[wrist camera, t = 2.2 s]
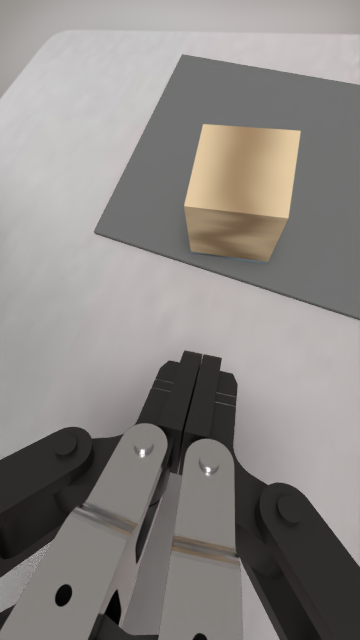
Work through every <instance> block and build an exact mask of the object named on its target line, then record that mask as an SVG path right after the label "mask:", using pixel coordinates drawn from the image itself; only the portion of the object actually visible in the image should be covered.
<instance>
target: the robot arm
mask: <svg viewBox="0 0 360 640" xmlns="http://www.w3.org/2000/svg"><path fill="white" fill-rule="evenodd" d="M221 359H222V358H219V357H215V356H210V355H205V354H204V355H203V359H202V354H199V353H194V352H190V351H184V353H183V355H182V358H181V361H180V363H179V362H174V361H168V362H167V363H166V364H164V365H163V366H162V367H161V368H160V370H159V372H158V374H157V377H156V380H155V381H154V384H153V386H152V389H151V390H150V393H149V395H148V397H147V400H146V402H145V404H144V407H143V409H142V411H141V413H140V416H139V418H138V420H137V422H136V424H135V425H134V426H133V427H131V428H130V429H128V430H127V431H126V432H125V433H124V434H122V435H120V436H116V437H110V438H95V439H91V436H90V435H89V433H88V432H87V431H86V430H84V429H82V428H79V427H68V428H64V429H61V430H59V431H57V432H55V433H53V434H51V435H49V436H47V437H45V438H43V439H41V440H39V441H37V442H35V443H33V444H31V445H29V446H27V447H25V448H23V449H21V450H19V451H17V452H15V453H13V454H11V455H9V456H7V457H5V458H3V459H1V460H0V577H2V576H3V575H5V574H6V573H7V572H9V571H10V570H12V569H13V568H14V567H16V566H17V565H19V564H20V563H21V562H23V561H24V560H25V559H27V558H28V557H30V556H31V555H32V554H34V553H35V552H37V551H38V550H39V549H41V548H42V547H44V546H45V545H46V544H48V543H49V542H51V541H52V540H53V539H54V540H53V542H52V544H51V545H50V547H49V549H48V550H47V552H46V554H45V556H44V557H43V559H42V561H41V562H40V564H39V566H38V567H37V569H36V571H35V573H34V574H33V576H32V578H31V579H30V581H29V583H28V585H27V586H26V588H25V590H24V591H23V593H22V595H21V596H20V598H19V600H18V602H17V603H16V604H15V605H13V606H12V607H10V608H8V609H6V610H4V611H3V612H1V613H0V640H243V627H242V588H241V569H240V561H239V558H240V559H241V562H242V564H243V566H244V568H245V570H246V572H247V574H248V576H249V578H250V580H251V582H252V585H253V587H254V589H255V591H256V593H257V595H258V597H259V599H260V601H261V603H262V605H263V607H264V609H265V611H266V613H267V615H268V617H269V619H270V621H271V623H272V625H273V627H274V629H275V631H276V633H277V635H278V637H279V639H280V640H360V567H359V566H358V564H357V563H356V562H355V560H354V559H353V558H352V556H351V555H350V554H349V552H348V551H347V550H346V549H345V547H344V546H343V545H342V543H341V542H340V541H339V539H338V538H337V537H336V535H335V534H334V533H333V531H332V530H331V529H330V528H329V526H328V525H327V524H326V522H325V521H324V520H323V518H322V517H321V516H320V514H319V513H318V512H317V511H316V509H315V508H314V507H313V505H312V504H311V503H310V501H309V500H308V499H307V498H306V497H305V495H304V494H302V493H301V492H300V491H299V490H298V489H296V488H295V487H293V486H291V485H288V484H285V483H273V484H270V485H267V484H265V483H264V482H262V481H260V480H259V479H257V478H256V477H254V476H252V475H251V474H250V473H248V472H247V471H246V470H245V469H244V468H243V467H242V466H241V465H240V463H239V462H238V460H237V458H236V456H235V453H234V449H233V439H234V426H235V412H236V399H237V398H236V397H237V382H236V380H235V378H234V375H233V374H231V373H227V372H222V371H220V365H221ZM201 361H202V363H201ZM180 459H181V461H180ZM179 463H180V469H179V474H180V475H182V482H181V488H180V495H179V502H178V509H177V516H176V522H175V529H174V536H173V543H172V549H171V556H170V563H169V570H168V576H167V583H166V590H165V597H164V604H163V610H162V617H161V624H160V631H159V635H130V634H127V633H126V632H125V631H123V630H122V629H121V627H122V624H123V622H124V619H125V616H126V613H127V610H128V607H129V604H130V600H131V597H132V594H133V591H134V587H135V583H136V579H137V575H138V571H139V567H140V564H141V560H142V557H143V555H144V552H145V549H146V546H147V543H148V540H149V537H150V534H151V531H152V528H153V525H154V522H155V519H156V516H157V513H158V511H159V508H160V505H161V502H162V499H163V495H164V492H165V490H166V486H167V482H168V479H169V475H170V472H172V473H176V474H177V471H178V467H179Z"/></svg>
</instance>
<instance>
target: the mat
mask: <svg viewBox="0 0 360 640" xmlns="http://www.w3.org/2000/svg"><path fill="white" fill-rule="evenodd" d="M203 124H209V125H224V126H238V127H253V128H268V129H282V130H297V131H301V133H300V140H299V147H298V154H297V161H296V168H295V176H294V183H293V190H292V197H291V204H290V211H289V218H288V220H287V222H286V224H285V227H284V229H283V231H282V233H281V235H280V237H279V239H278V242H277V244H276V246H275V248H274V250H273V252H272V254H271V256H270V259H269V261H268V263H267V264H263V263H256V262H249V261H242V260H235V259H228V258H221V257H214V256H207V255H200V254H193V253H191V249H190V243H189V236H188V229H187V223H186V216H185V210H184V204H185V200H186V195H187V191H188V187H189V182H190V178H191V174H192V170H193V165H194V161H195V157H196V152H197V148H198V144H199V140H200V135H201V131H202V127H203ZM94 232H95V234H98V235H101V236H104V237H107V238H110V239H113V240H116V241H119V242H122V243H125V244H128V245H132V246H135V247H138V248H141V249H144V250H147V251H150V252H153V253H156V254H159V255H162V256H165V257H168V258H171V259H174V260H178V261H181V262H184V263H187V264H190V265H193V266H196V267H199V268H202V269H205V270H208V271H211V272H214V273H217V274H220V275H223V276H227V277H230V278H233V279H236V280H239V281H242V282H245V283H248V284H251V285H254V286H257V287H260V288H263V289H266V290H269V291H273V292H276V293H279V294H282V295H285V296H288V297H291V298H294V299H297V300H300V301H303V302H306V303H309V304H312V305H315V306H318V307H322V308H325V309H328V310H331V311H334V312H337V313H340V314H343V315H346V316H349V317H352V318H355V319H358V320H360V85H357V84H351V83H345V82H339V81H334V80H328V79H322V78H316V77H310V76H305V75H299V74H293V73H287V72H281V71H276V70H270V69H264V68H258V67H252V66H247V65H241V64H235V63H229V62H223V61H218V60H212V59H206V58H200V57H194V56H189V55H183V54H182V56H181V58H180V60H179V62H178V64H177V66H176V68H175V70H174V72H173V74H172V76H171V78H170V80H169V82H168V84H167V86H166V88H165V90H164V92H163V94H162V96H161V98H160V100H159V102H158V104H157V106H156V108H155V110H154V112H153V114H152V116H151V118H150V120H149V122H148V124H147V126H146V128H145V130H144V132H143V134H142V136H141V138H140V140H139V142H138V144H137V146H136V148H135V150H134V152H133V154H132V156H131V158H130V160H129V162H128V164H127V166H126V168H125V170H124V172H123V174H122V176H121V178H120V180H119V182H118V184H117V186H116V188H115V190H114V192H113V194H112V196H111V198H110V200H109V202H108V204H107V206H106V208H105V210H104V212H103V214H102V216H101V218H100V220H99V222H98V224H97V226H96V228H95V230H94Z"/></svg>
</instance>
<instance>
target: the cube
mask: <svg viewBox="0 0 360 640" xmlns="http://www.w3.org/2000/svg"><path fill="white" fill-rule="evenodd" d="M300 133H301V131H297V130H282V129H268V128H253V127H238V126H224V125H209V124H203V127H202V131H201V135H200V140H199V144H198V148H197V152H196V157H195V161H194V165H193V170H192V174H191V178H190V182H189V187H188V191H187V195H186V200H185V204H184V210H185V216H186V223H187V229H188V236H189V243H190V249H191V253H193V254H200V255H207V256H214V257H221V258H228V259H235V260H242V261H249V262H256V263H263V264H267V263H268V261H269V259H270V256H271V254H272V252H273V250H274V248H275V246H276V244H277V242H278V239H279V237H280V235H281V233H282V231H283V229H284V227H285V224H286V222H287V220H288V218H289V211H290V204H291V197H292V190H293V183H294V176H295V168H296V161H297V154H298V147H299V140H300Z"/></svg>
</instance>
